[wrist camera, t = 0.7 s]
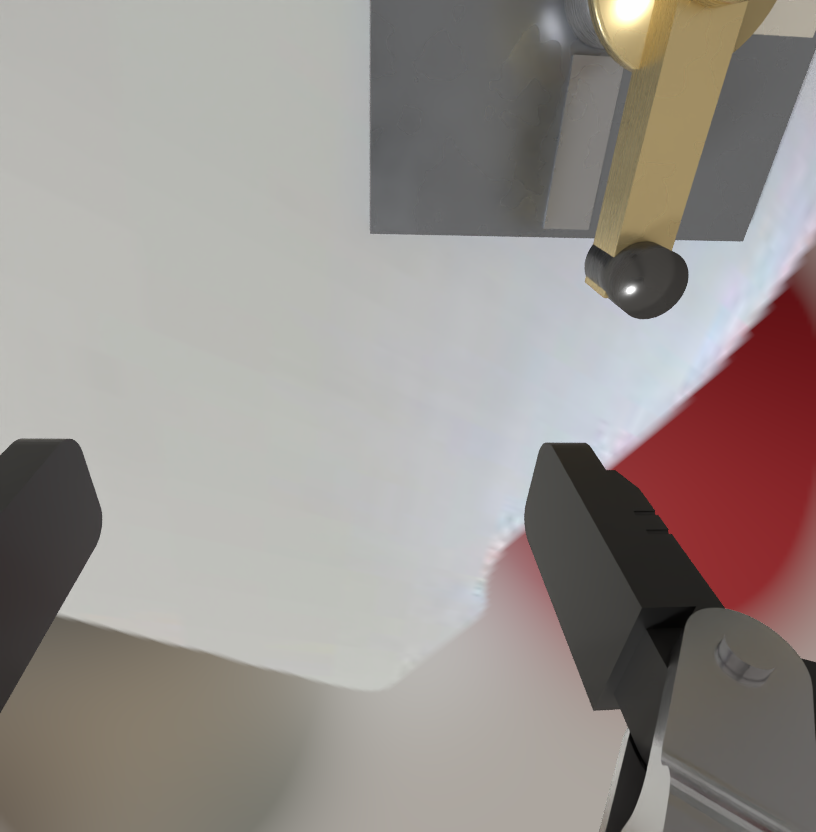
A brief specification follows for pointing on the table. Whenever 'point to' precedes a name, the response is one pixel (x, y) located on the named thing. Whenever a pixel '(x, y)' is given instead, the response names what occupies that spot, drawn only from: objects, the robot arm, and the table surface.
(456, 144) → the lock base
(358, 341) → the table surface
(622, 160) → the brass lever handle
